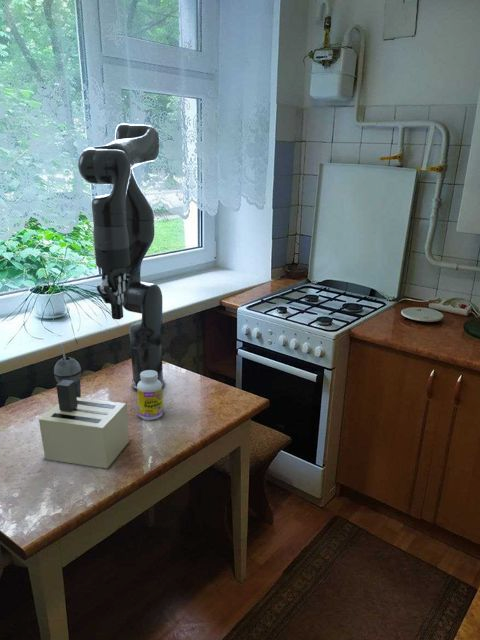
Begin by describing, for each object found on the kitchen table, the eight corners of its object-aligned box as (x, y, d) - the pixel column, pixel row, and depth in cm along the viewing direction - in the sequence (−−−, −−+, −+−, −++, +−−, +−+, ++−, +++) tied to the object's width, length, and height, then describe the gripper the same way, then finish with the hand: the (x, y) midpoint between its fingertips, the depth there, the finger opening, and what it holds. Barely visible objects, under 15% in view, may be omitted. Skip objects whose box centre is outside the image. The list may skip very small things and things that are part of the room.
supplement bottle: (142, 422, 135) (139, 380, 130) (136, 411, 140) (133, 370, 136) (166, 417, 138) (164, 376, 133) (159, 407, 143) (157, 366, 139)
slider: (66, 404, 120) (63, 379, 118) (77, 406, 120) (74, 380, 117) (59, 410, 118) (55, 384, 115) (71, 412, 117) (67, 386, 115)
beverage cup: (90, 403, 144) (82, 339, 137) (79, 415, 138) (70, 349, 130) (66, 401, 145) (57, 337, 137) (53, 413, 138) (44, 347, 131)
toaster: (72, 433, 129) (67, 395, 125) (129, 441, 126) (126, 402, 122) (44, 459, 118) (38, 418, 114) (107, 468, 116) (102, 427, 111)
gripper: (110, 239, 118) (115, 309, 124) (80, 249, 106) (89, 325, 112) (139, 241, 116) (144, 311, 123) (113, 251, 104) (119, 329, 111)
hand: (117, 318), depth 117 cm, fingers closed
